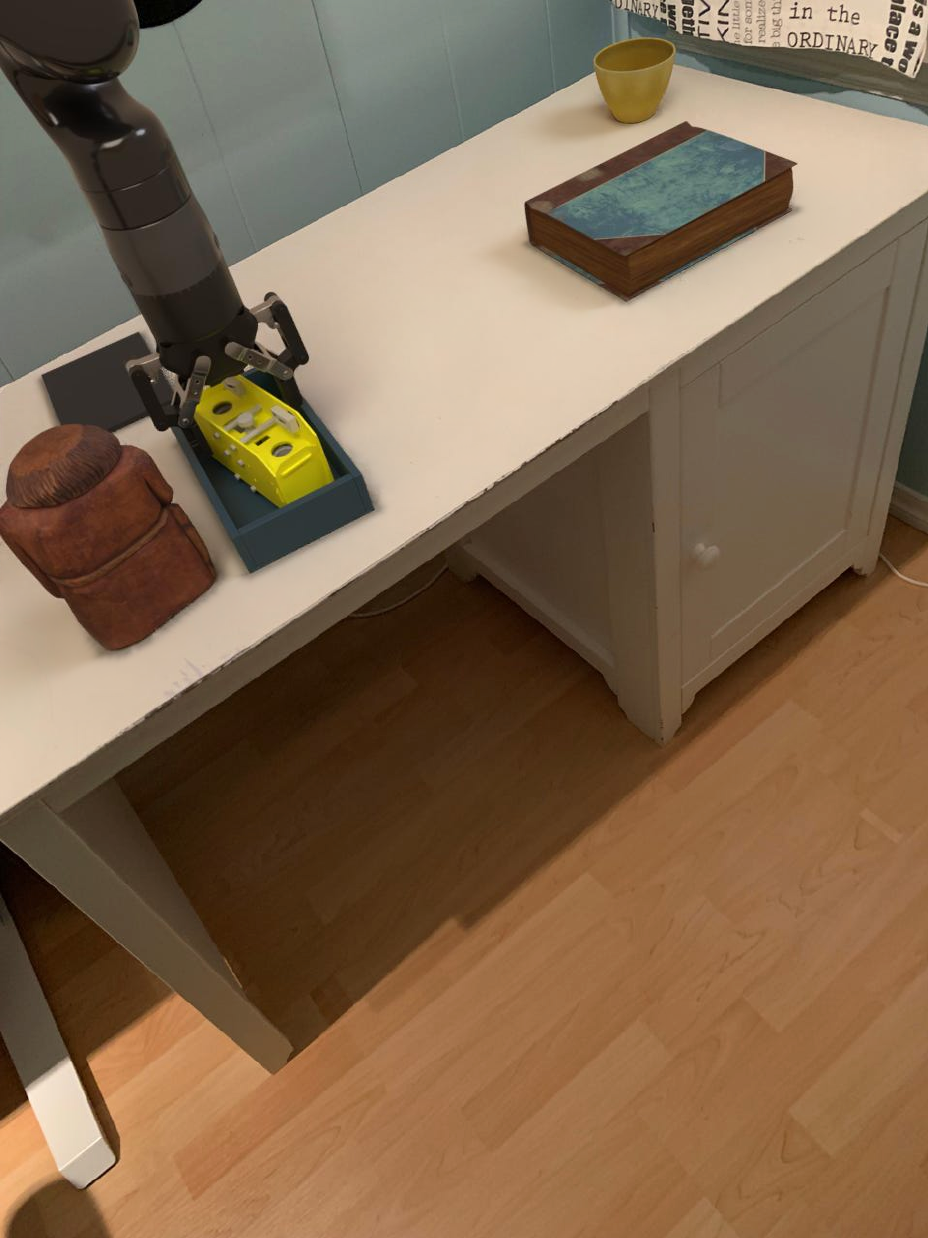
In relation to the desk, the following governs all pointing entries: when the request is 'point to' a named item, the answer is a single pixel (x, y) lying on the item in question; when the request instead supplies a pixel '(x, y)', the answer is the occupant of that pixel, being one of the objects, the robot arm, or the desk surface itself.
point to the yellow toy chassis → (262, 440)
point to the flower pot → (634, 76)
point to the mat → (102, 387)
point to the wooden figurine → (103, 532)
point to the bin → (258, 520)
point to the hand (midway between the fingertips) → (250, 430)
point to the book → (659, 207)
